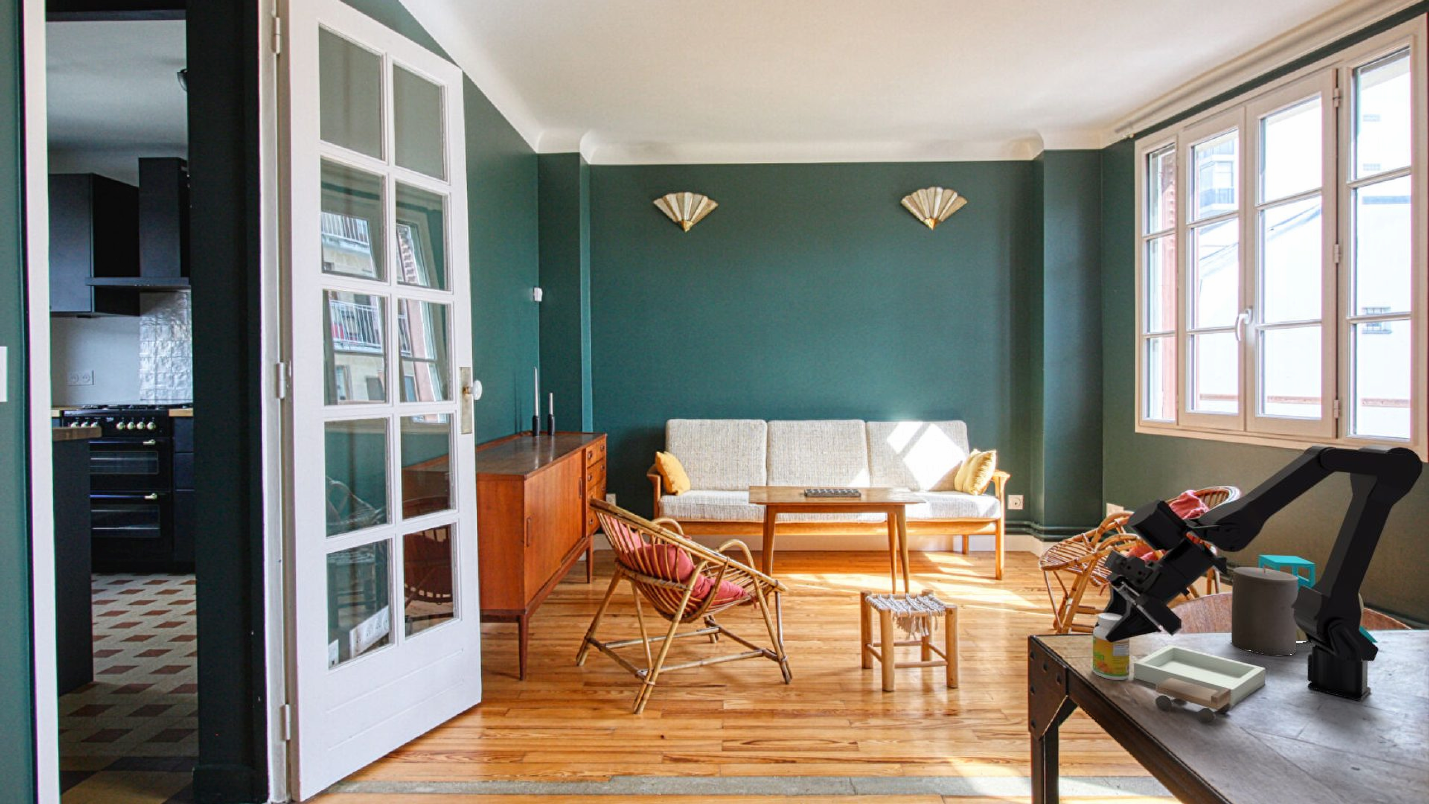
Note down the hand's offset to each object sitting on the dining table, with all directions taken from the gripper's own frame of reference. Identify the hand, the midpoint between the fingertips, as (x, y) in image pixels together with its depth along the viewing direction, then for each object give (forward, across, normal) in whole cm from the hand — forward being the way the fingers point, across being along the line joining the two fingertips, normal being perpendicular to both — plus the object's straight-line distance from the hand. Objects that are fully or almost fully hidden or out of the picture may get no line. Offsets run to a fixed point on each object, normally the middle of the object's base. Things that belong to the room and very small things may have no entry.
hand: (1101, 634), depth 124 cm
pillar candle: (-18, -20, +28) cm, 39 cm away
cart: (-2, +13, +11) cm, 17 cm away
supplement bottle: (+4, 0, +6) cm, 7 cm away
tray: (-6, 0, +15) cm, 16 cm away
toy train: (-27, -27, +37) cm, 53 cm away
